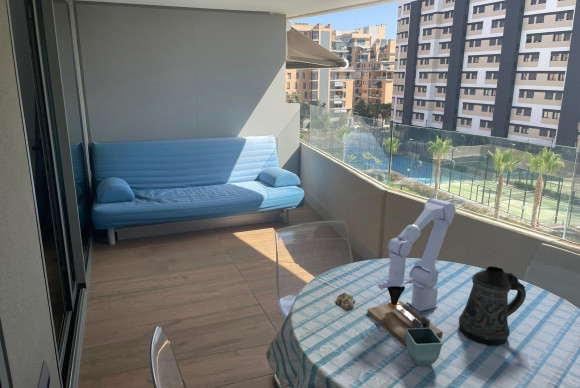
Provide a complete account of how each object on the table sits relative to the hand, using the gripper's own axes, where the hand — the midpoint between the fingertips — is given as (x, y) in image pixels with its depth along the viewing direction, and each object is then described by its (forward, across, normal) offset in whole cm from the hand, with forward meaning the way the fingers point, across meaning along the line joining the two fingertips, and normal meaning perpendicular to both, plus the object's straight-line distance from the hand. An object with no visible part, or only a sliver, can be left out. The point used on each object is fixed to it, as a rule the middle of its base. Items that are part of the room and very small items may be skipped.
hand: (394, 302), depth 150 cm
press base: (+6, 0, -6) cm, 8 cm away
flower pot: (+6, -8, -25) cm, 27 cm away
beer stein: (+6, +25, -21) cm, 33 cm away
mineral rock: (+6, -12, +15) cm, 20 cm away
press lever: (+2, 0, -7) cm, 7 cm away
